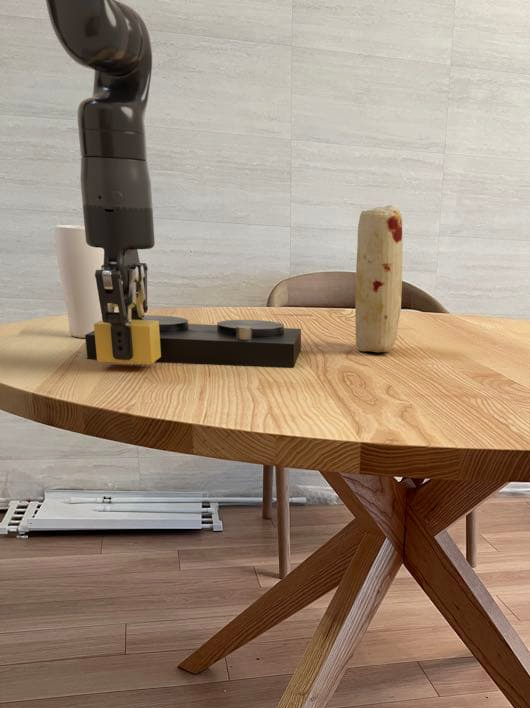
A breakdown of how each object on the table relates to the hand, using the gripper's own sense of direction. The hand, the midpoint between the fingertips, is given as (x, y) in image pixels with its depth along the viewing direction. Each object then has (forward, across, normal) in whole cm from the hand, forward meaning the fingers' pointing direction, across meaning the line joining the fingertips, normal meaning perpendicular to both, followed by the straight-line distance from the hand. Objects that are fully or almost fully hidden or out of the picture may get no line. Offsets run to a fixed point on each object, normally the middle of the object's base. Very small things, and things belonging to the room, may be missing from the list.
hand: (129, 354), depth 99 cm
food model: (+2, -21, +30) cm, 37 cm away
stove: (+2, -12, +6) cm, 14 cm away
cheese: (+1, 0, 0) cm, 1 cm away
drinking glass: (+2, -23, -12) cm, 26 cm away
